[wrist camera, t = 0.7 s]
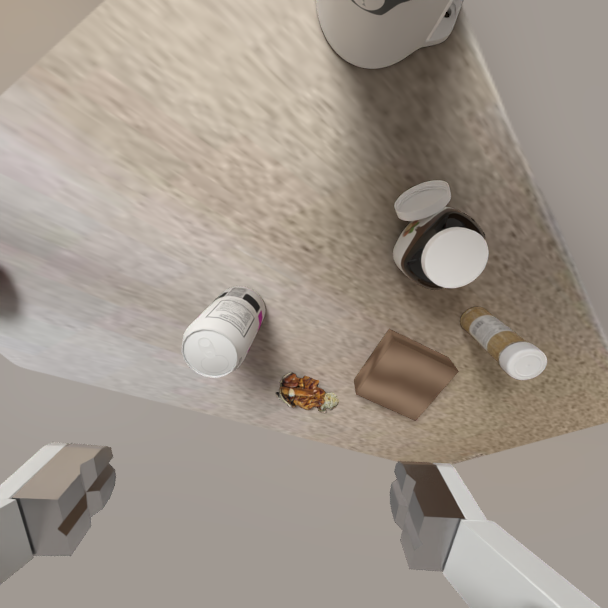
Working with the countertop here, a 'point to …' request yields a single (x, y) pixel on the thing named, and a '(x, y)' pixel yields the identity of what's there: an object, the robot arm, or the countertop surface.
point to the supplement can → (223, 332)
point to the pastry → (305, 393)
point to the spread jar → (438, 239)
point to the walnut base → (403, 375)
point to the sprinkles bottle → (504, 344)
